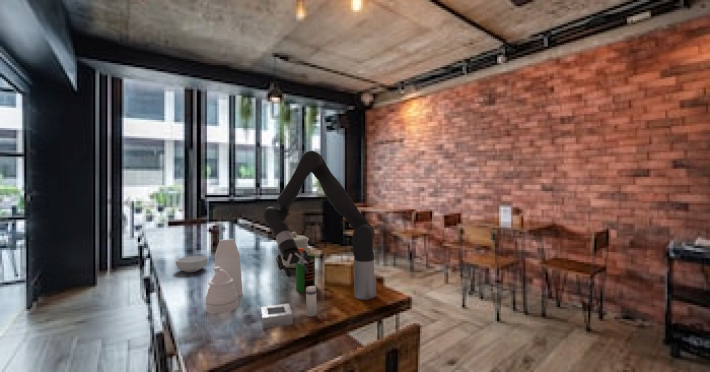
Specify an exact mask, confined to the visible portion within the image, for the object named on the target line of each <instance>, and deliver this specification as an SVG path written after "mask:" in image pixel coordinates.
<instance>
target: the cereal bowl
mask: <svg viewBox="0 0 710 372" xmlns="http://www.w3.org/2000/svg"><path fill="white" fill-rule="evenodd" d="M175 260H176V261H175V262H176V263H175V265H176V267H177V269H179V271H184V272H185V273H195V272H198V271H200V270H202V269H203V268H205V267H206V266H207V263H208V257H207V256H204V255H193V256H190V255H189V256H185V257H181V258H178V259H175Z"/></svg>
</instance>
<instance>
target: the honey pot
mask: <svg viewBox="0 0 710 372" xmlns="http://www.w3.org/2000/svg"><path fill="white" fill-rule="evenodd" d="M213 271H214V275H213V276H212V279H210V280H209V281H208V285H209V287H208V288H207V293H206V296H205V300H204V301H205V303H204V304H205V312H206V313H208V314H211V313H214V315H219V314H218V313H221V314H226V313H229V311H230V312H233V311H234V310H236V309H237V308H238V306H239V305H238V303H239V302H238V296H237V292H236V289H235V286H234V285H233V283H232V282H233V279H232V278H230V276H229V275H228V273H227V272H226V271H225V270H223V269H220V267H215V266H214V267H213ZM215 272H216V273H215ZM225 312H226V313H225Z"/></svg>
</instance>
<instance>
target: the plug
mask: <svg viewBox="0 0 710 372" xmlns="http://www.w3.org/2000/svg"><path fill="white" fill-rule="evenodd" d="M305 295H306V299H305V301H306V302H305V303H306V304H305V305H306V306H305V307H306V316H307V317H310V318H311V317H315V316H317V286H316V285H315V286H309V287H306V291H305Z"/></svg>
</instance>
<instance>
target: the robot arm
mask: <svg viewBox="0 0 710 372" xmlns="http://www.w3.org/2000/svg"><path fill="white" fill-rule="evenodd" d="M311 174H312V175H314V177H315V178H316V180H317V181H318V182H319V184H320V186H321V188H322V191H323V194H324V196H325V197H326V199H327V201H328V202H329V203H330V206H332V207H333V209H334V210H335V211H336V212H337V213H338V214H339V215H341V216H342V217H343V218H344V219H345V220H346V221H347V222H348V224H349V225H350V226H351V228H352V231H353V232H352V254H353V265H354V266H353V270H354V271H353V274H354V275H353V276H354V277H353V279H354V282H353V283H354V286H353V287H354V288H353V289H354V291H353V292H354V298H356V299H358V300H366V301H367V300H371V299H374V298H376V297H377V277H376V275H375V254H374V242H373V241H374V239H375V236H376V232H375V228H374V227H373V226H372V225H371V224H370V223H369V221H368V220H367V219H366V218H365V217H364V215H363V214H362V213H361V212H360V211H359V208H358V207H357V205H356V204H355V202H354V201H353V199H352V197H351V196H350V194H348V192H347V190H346V189H345V188H344V186H343V185H342V184H341V183H340V181H339V180H338V179H337V178H336V177H335V176H334V174H333V173H332V172H331V170H330V168H329V166H328V165H327V163H326V161H325V159H324V158H323V156H322V155H321V154H320V153H319V152H317V151H315V150H307V151H305V152H304V153H303V154H302V156H301V157H300V160H299V162H298V164H297V166H296V168H295V170H294V172H293V173H292V176H291V178H290V179H289V181H288V182H287V184H286V185H285V187H284V188H283V190H282V191H281V193H280V194H279V196H278V197H277V199H276V202H277V204H278V205H279V206H278V208H277V207H275V206H268V207H266V208H265V210H264V213H263V217H264V221H265V223H267V225H268V226H269V228H270V229H271V230H272V232H273V234H274V237H275V240H276V243H277V244H276V245H277V246H278V250H279V251H280V254H278V255H277V257H276V263H277V267H278V269H279V271H280V270H283V271H284V272H285V275H286V277H288V278H291V277H292V271H291V268H289V267H288V265H289V264H293V263H299V264H301V265H303V266H304V269H305V272H306V274H308V273H309V271H310V268H309V266H308V264H309V263H310V261H311V260H310V258H309V256H308V255H309V254H308V251H307V252H306V251H303V252H301V253H300V252H299V251H298V247H297V245H296V243H295V240H294V238H293V236H292V234H291V233H292V232H291V231H290V228H289V226H288V224H287V223H286V222H285V220H286V219H287V217H288V214H289V211H290V208H291V206H292V204H293V202H294V201H295V200H296V199H297V197H298V195H299V194H300V191H301V189H302V186H303V185H304V183H305V181H306V179H307V178H308V176H309V175H311ZM300 255H301V256H302V257H301V256H300ZM299 259H300V260H301V261H299ZM283 260H285V261H286V263H285V265H284V264H283ZM303 262H304V263H303Z"/></svg>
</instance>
